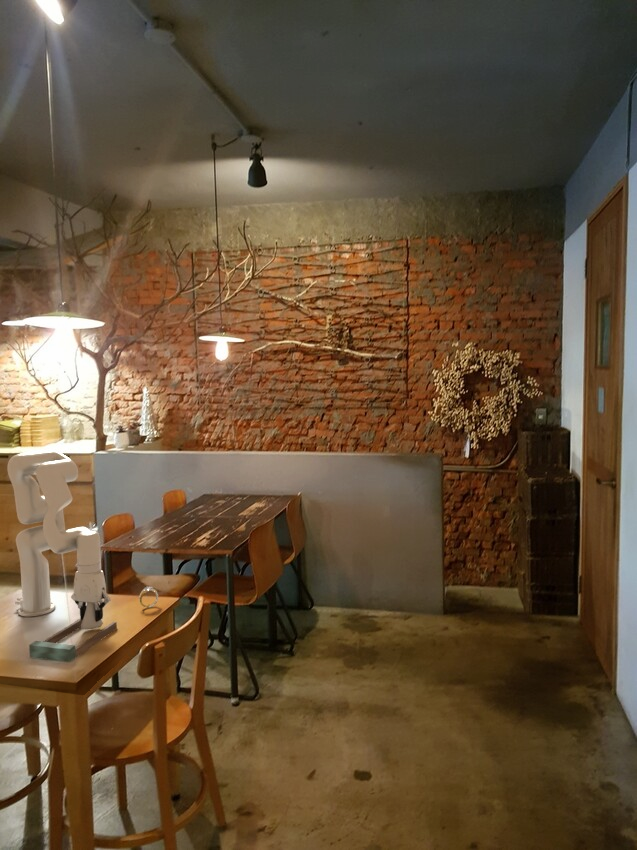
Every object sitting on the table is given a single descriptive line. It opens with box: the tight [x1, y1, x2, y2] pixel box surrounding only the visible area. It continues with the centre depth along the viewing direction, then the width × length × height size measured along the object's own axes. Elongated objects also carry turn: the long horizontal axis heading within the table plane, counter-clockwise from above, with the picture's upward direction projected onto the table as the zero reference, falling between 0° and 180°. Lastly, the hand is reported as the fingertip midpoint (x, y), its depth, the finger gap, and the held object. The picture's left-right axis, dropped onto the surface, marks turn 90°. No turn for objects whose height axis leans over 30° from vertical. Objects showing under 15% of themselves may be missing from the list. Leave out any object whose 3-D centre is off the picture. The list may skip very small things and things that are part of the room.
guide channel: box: [28, 618, 118, 663], centre depth 197 cm, size 14×25×4 cm, turn 165°
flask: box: [80, 602, 104, 630], centre depth 205 cm, size 7×7×10 cm
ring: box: [138, 585, 159, 609], centre depth 226 cm, size 7×3×8 cm, turn 116°
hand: (91, 618), depth 205 cm, fingers closed on flask, 5 cm apart
